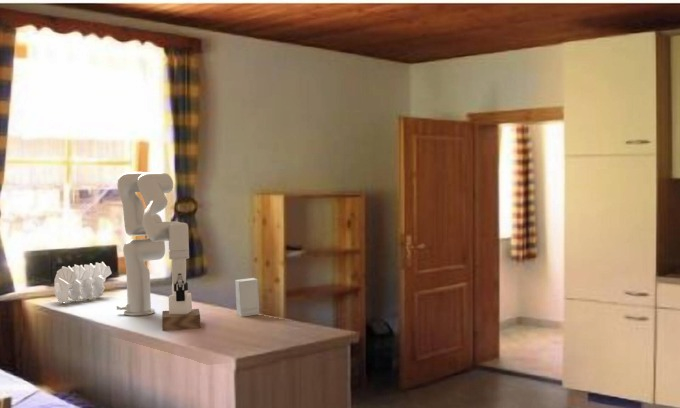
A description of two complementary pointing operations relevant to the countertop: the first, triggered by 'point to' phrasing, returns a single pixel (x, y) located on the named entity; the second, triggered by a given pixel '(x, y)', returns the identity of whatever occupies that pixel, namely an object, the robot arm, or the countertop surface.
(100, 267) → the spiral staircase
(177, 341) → the countertop surface
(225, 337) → the countertop surface
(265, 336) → the countertop surface
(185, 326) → the walnut riser
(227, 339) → the countertop surface
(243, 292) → the skincare box
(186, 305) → the medicine bottle
